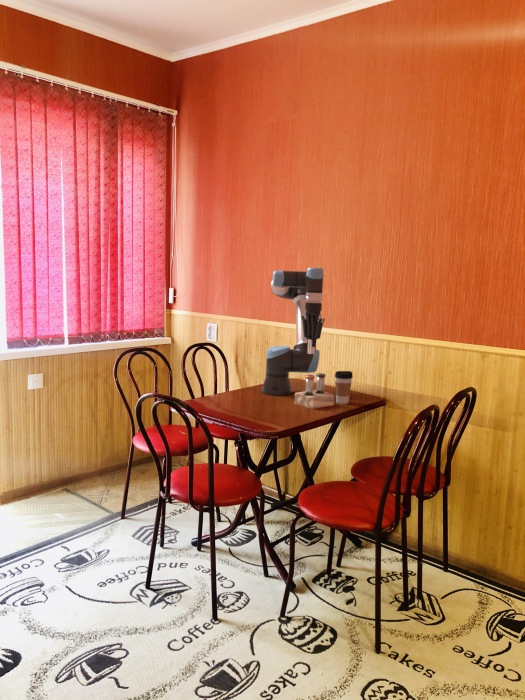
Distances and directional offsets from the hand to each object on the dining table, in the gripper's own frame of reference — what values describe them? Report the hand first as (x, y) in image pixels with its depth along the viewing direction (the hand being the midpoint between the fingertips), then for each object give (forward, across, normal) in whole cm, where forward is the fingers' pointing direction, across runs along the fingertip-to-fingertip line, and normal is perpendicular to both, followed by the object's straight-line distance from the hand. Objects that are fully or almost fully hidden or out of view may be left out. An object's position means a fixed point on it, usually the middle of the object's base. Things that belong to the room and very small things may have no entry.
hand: (311, 353), depth 261 cm
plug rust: (+19, 0, 0) cm, 19 cm away
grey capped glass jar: (+19, 0, +7) cm, 21 cm away
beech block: (+24, 0, +4) cm, 25 cm away
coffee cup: (+25, +5, +18) cm, 31 cm away
